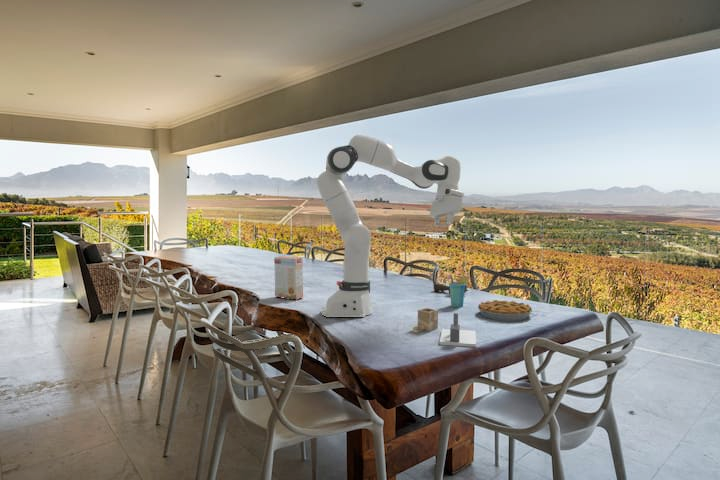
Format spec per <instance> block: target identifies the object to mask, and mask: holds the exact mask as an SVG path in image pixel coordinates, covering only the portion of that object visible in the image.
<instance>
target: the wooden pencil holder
mask: <svg viewBox="0 0 720 480" xmlns="http://www.w3.org/2000/svg"><path fill="white" fill-rule="evenodd" d="M438 325H439V310H438V309H433V308H429V307H425V308H420V309H418V310H417V326H414V327H412V332H413V333H418V332H422V331H427V332H430V331H432V330H437V329H438V328H439V326H438Z"/></svg>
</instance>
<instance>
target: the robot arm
mask: <svg viewBox="0 0 720 480" xmlns="http://www.w3.org/2000/svg"><path fill="white" fill-rule="evenodd" d="M356 162H360V163H365V164H367V165H370V166H372V167H375V168H379V169H381V170H384V171H388V172H390V173H392V174H394V175H397V176H400V177H402V178H403V179H407V180H408V181H410V182H411V183H412V184H414V185H415V186H416V187H418V188H419V189H422V190H425V189H429V188H431V187H432V186H433V185H434V184H436V185H437V188H436V195H435V196H436V197H435V199H434V200H433V201H432V203H431V205H430V211H429V216H430V218H433V221H434V227H436V228H438V227H440V226H441V222H440V220H441V219H440V218H441V217H447V219H446V221H445V225H449V226H450V225H452V221H453V219H454V218H455V215H456V214H460V212H461V211H462V206H463V197H464V195H465V193H464V192H463V191H460V190H459V182H460V179H461V168H462V167H461V162H460V160H458V158H456V157H454V156H443V157H442V158H438V159H428V160H426V161H425V162H424V163H422V164H421V165H420V166H415V165H411V164H409V163H407V162H405V161H403V160H400V159H399V158H398V157H397V155H396V153H395V150H394V148H393V146H392V145H390V144H389V143H388V142H385V141H384V140H380V139H377V138H374V137H371V136H367V135H362V134H356V135H354V136H353V137H351V139H349V143H348V144H347V145H342V146H337V147H334V148H333V149H331V150H330V151H329V153H328V154H327V157H326V161H325V163H326V164H325V171H324V172H321V173H320V174H319V175H318V177H317V178H316V183H317V184H316V185H317V187H318V191H319V193H320V195H321V196H320V197H321V199H322V200H323V203H324V205H325V206H326V209H327V210H328V212H329V215H330V217H331V219H332V220H333V223H334V225H335V227H336V229H337V231H338V234H339V236H340V238H341V240H342V242H343V243H344V253H343V254H344V255H343V256H344V257H343V263H342V265H343V280H342V281H340V280H337V281H336V285H337V286H338V290H337V291H336V292H334V293H333V294H332V295H331V296H329V297H328V298H327V300H326V304H325V305H326V306H325V308H322V309H321V310H320V314H321V313H322V314H323V315H324V316H326V317H363V318H365V317H366V315H367V316H369V315H372V314H373V313H374V312H373V307H372V304H371V298H370V297H371V295H370V293H371V281H370V255H371V245H372V233H371V231H370V229H369V228H368V227H367V226H366V225H364V224H363V222H362V221H361V218H360V216H359V213H358V210H357V208H356V205H355V203H354V201H353V199H352V197H351V195H350V193H349V191H348V189H347V187H346V185H345V184H344V180H343V176H344V174H346V173H348V172H349V171H351V169H352V168H353V167H354V165H355V164H356ZM324 316H323V317H324ZM326 317H325V318H326Z"/></svg>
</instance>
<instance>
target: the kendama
mask: <svg viewBox="0 0 720 480" xmlns="http://www.w3.org/2000/svg"><path fill="white" fill-rule="evenodd" d="M433 284H434V285H433V291H434V292H440V291H441V292H445V291H448V293H449V295H450V286H449V285H446V284H445V283H439V282H434V283H433ZM468 291H469V290H468V287H467V285H466V286H465V291H464V294H465V293H467V292H468Z"/></svg>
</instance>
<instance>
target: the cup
mask: <svg viewBox="0 0 720 480" xmlns="http://www.w3.org/2000/svg"><path fill="white" fill-rule="evenodd" d="M444 278H445V279H446V280H447V279H449V278H450V279H451V282H449V283H448V286H449V287H450V294H449V296H450V306H451V307H453V308H462V307H464V301H465V293H464V291H465V286H467V285H468V284H469V277H468V275H463V274H462V275H461V276H459V278H458V281H454V279H453V276H452V274H449V275H448V276H445V277H444Z"/></svg>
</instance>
